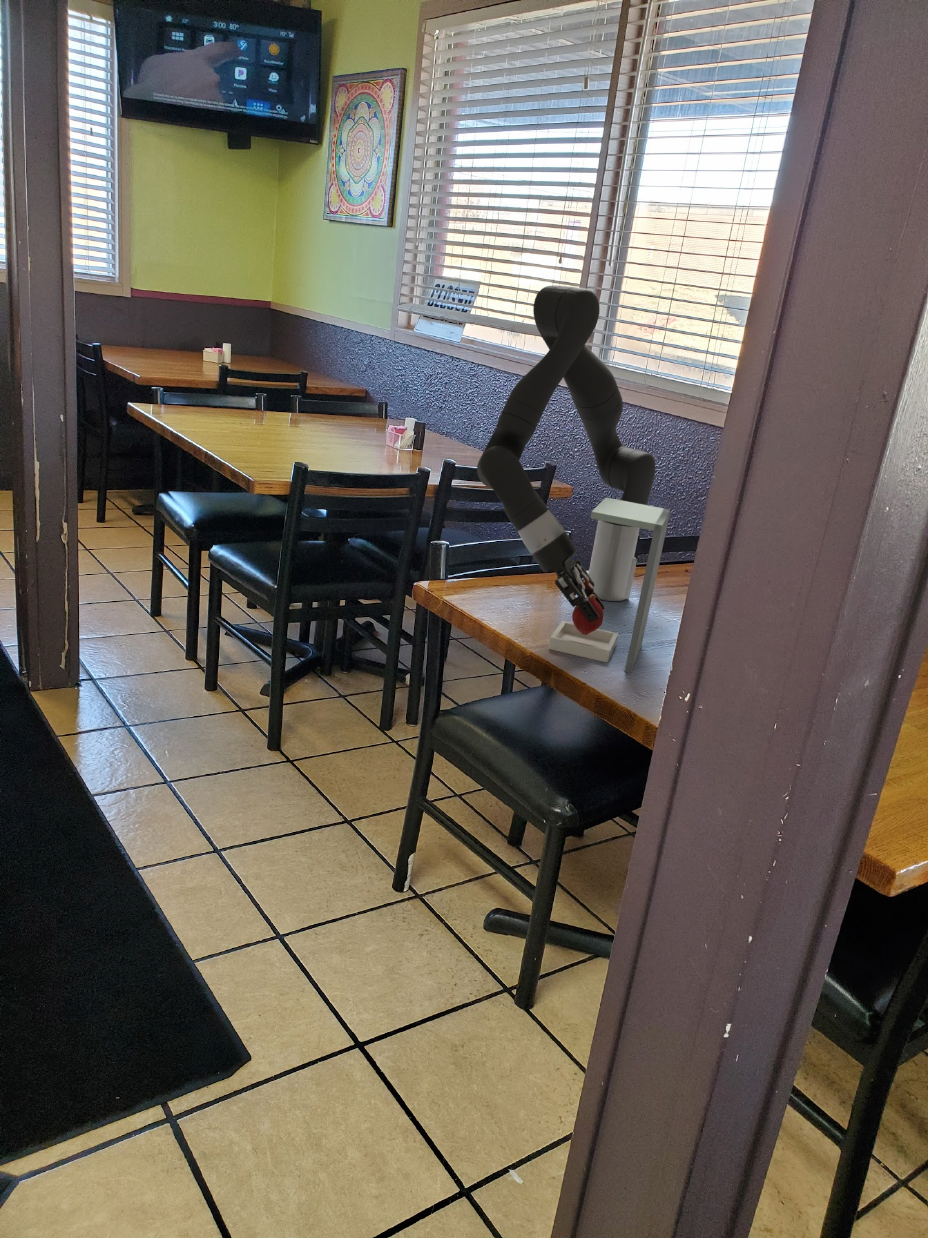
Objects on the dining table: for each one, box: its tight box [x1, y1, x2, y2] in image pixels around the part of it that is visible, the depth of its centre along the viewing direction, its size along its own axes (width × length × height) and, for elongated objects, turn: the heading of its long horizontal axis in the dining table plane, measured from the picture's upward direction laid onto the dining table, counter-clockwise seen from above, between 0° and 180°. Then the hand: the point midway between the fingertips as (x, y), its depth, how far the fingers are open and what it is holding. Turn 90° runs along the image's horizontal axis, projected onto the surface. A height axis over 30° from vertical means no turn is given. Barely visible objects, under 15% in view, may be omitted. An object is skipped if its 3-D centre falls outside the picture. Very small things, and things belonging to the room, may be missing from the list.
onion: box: [571, 594, 605, 635], centre depth 173 cm, size 6×6×8 cm
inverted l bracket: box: [590, 497, 671, 674], centre depth 170 cm, size 12×16×27 cm
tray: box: [548, 620, 619, 663], centre depth 175 cm, size 11×11×2 cm
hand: (597, 615), depth 173 cm, fingers closed on onion, 6 cm apart
